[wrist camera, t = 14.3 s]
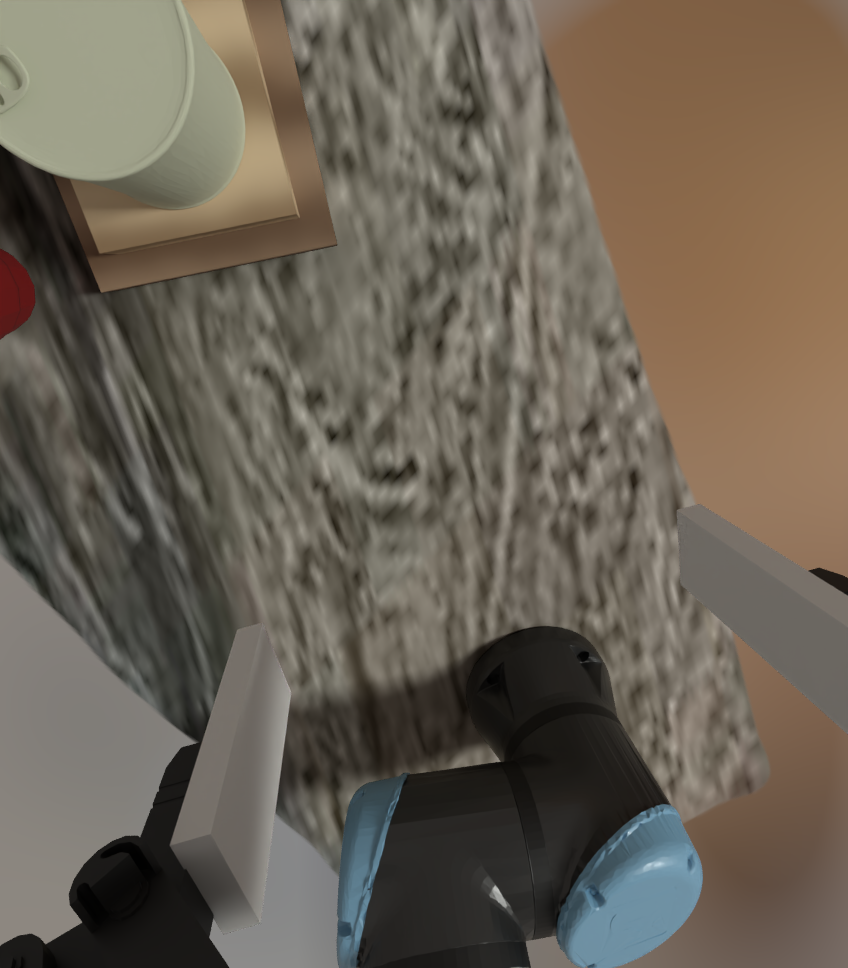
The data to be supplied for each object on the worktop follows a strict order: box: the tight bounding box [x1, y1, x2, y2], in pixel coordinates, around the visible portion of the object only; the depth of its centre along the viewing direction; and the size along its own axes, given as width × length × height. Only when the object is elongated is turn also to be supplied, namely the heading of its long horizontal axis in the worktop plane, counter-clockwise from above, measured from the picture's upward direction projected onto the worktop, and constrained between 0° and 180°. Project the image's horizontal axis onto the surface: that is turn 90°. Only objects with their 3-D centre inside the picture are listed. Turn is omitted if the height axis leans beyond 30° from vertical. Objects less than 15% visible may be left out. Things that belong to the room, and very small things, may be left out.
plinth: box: [53, 0, 337, 292], centre depth 33 cm, size 16×16×6 cm
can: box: [0, 0, 245, 209], centre depth 25 cm, size 9×9×12 cm
